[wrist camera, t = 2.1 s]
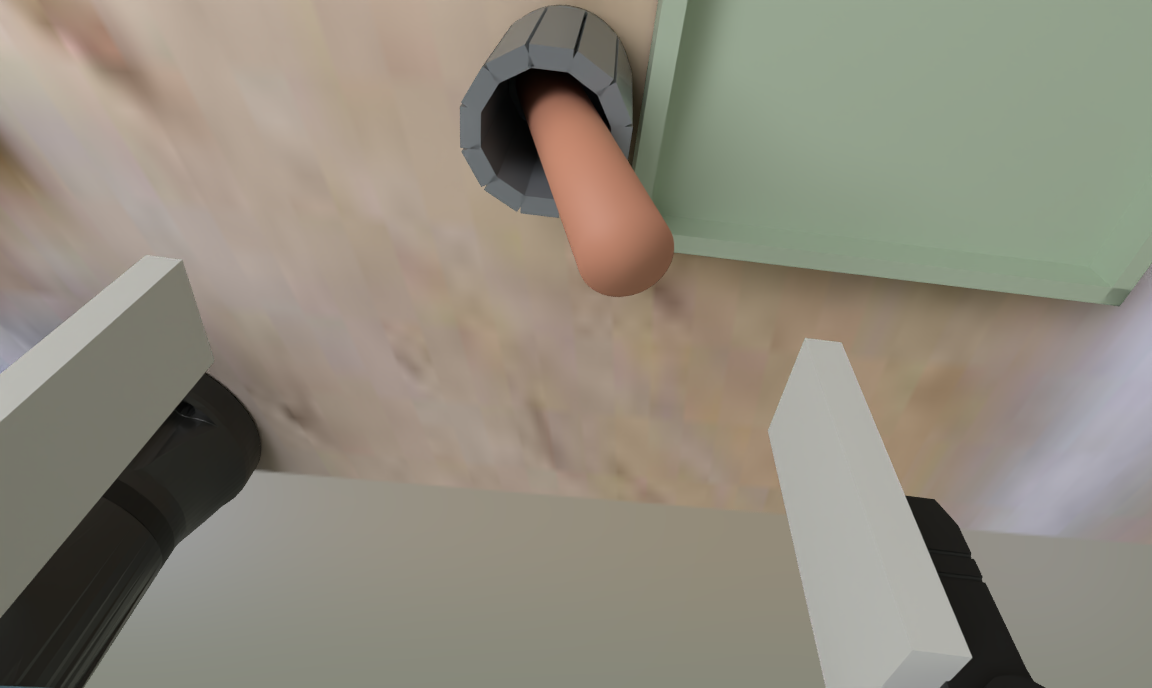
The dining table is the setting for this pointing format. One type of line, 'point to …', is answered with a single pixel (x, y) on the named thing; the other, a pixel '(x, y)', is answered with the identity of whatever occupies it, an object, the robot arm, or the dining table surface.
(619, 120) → the cup
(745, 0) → the tray
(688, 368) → the dining table surface
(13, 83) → the dining table surface
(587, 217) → the pin
